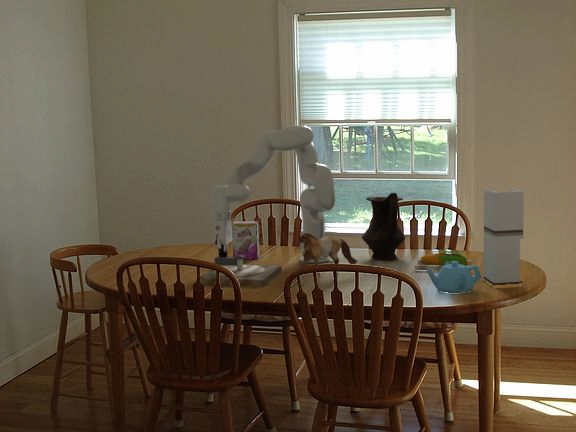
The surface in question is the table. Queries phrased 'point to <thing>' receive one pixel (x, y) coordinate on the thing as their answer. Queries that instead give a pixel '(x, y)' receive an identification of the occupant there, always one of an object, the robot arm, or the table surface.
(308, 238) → the horse figurine
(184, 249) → the table surface
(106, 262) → the table surface
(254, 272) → the tuner base
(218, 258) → the lever with ball knob
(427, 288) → the table surface
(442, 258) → the corn
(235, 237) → the candy bar box
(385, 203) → the jug
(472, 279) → the teapot
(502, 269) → the white rectangular tower
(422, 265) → the corn rest
